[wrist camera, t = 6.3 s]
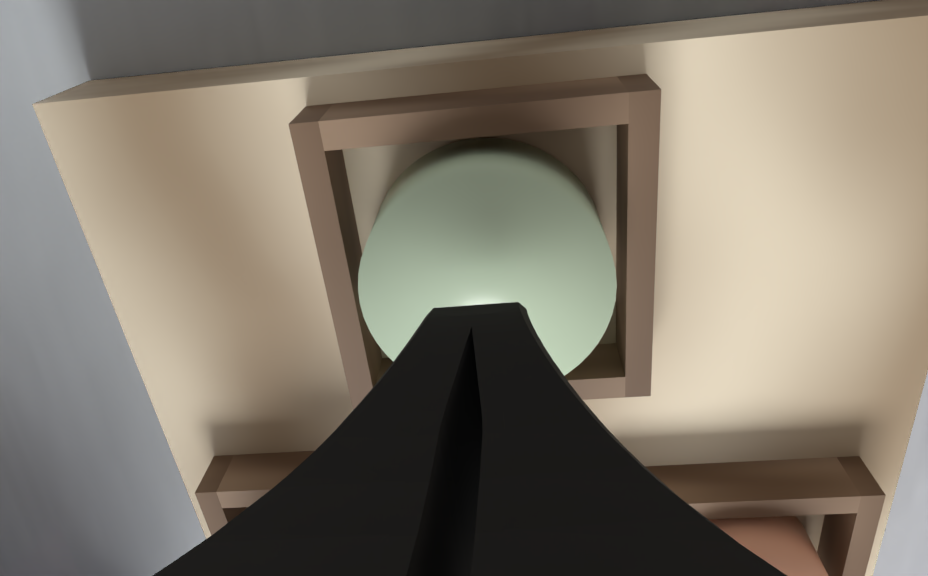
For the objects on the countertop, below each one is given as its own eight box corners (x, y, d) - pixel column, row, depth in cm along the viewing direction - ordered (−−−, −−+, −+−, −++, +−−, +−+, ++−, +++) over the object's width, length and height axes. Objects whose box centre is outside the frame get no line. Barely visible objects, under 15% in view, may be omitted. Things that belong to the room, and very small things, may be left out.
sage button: (392, 350, 14) (380, 404, 13) (355, 148, 12) (334, 183, 11) (602, 337, 14) (616, 390, 13) (601, 127, 12) (617, 158, 10)
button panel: (274, 602, 22) (242, 703, 19) (89, 80, 14) (-11, 121, 11) (822, 584, 21) (874, 690, 18) (952, -8, 13) (1081, 15, 10)
